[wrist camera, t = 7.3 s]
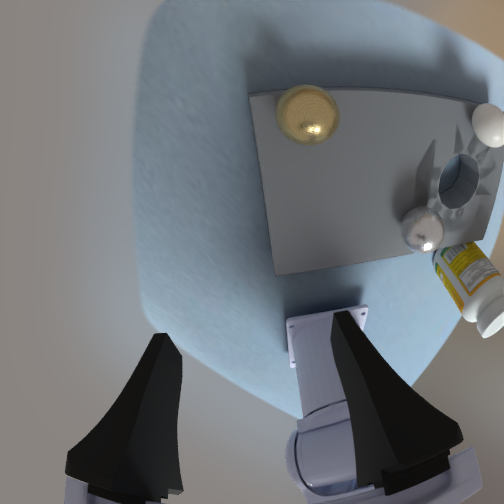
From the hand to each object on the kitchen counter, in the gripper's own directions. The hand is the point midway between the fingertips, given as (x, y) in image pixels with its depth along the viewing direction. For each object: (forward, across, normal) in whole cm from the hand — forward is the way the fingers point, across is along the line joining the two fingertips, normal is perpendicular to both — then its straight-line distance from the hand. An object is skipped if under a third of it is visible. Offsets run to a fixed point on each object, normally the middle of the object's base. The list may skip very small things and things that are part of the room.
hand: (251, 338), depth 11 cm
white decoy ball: (+6, -17, -8) cm, 19 cm away
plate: (+10, -12, -2) cm, 15 cm away
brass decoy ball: (+6, -4, -8) cm, 10 cm away
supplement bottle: (+10, -20, +7) cm, 23 cm away
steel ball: (+6, -12, 0) cm, 13 cm away
